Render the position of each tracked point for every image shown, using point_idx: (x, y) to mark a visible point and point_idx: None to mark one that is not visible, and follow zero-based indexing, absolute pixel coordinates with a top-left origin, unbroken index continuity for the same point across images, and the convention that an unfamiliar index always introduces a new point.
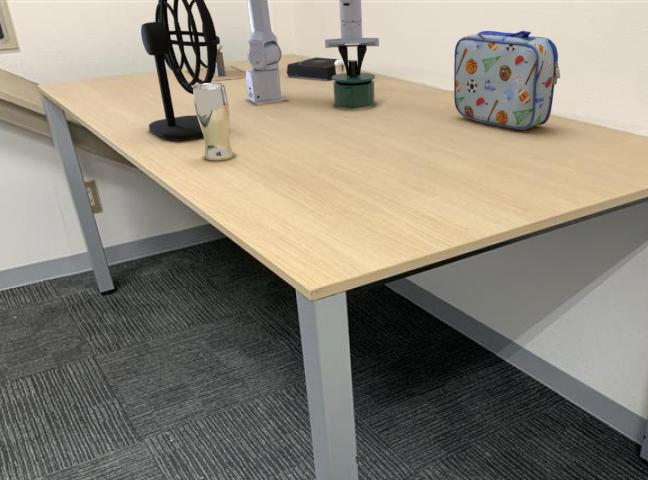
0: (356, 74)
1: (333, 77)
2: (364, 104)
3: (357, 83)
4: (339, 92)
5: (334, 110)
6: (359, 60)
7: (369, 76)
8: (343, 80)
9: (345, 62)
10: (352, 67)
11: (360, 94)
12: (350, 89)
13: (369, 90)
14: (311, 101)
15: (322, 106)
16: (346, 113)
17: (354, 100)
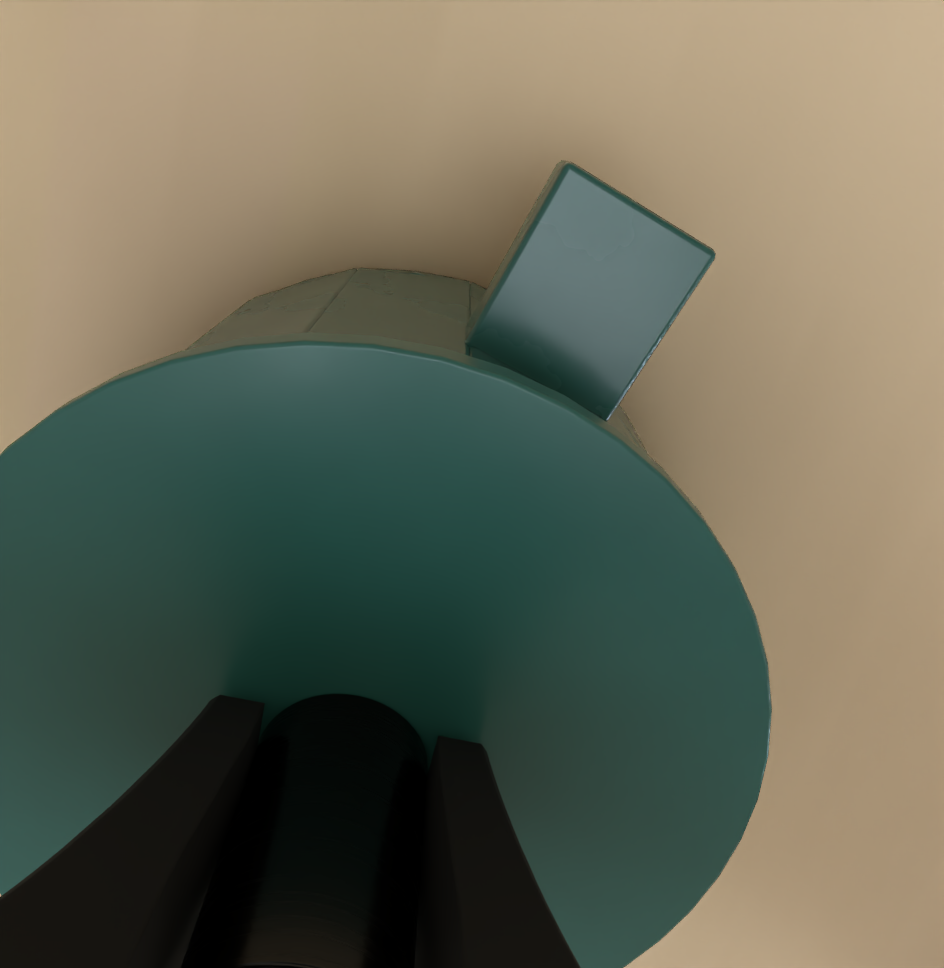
0: (286, 728)
1: (734, 793)
2: (305, 285)
3: None
4: None
5: (706, 373)
6: (99, 921)
7: (28, 627)
8: (658, 465)
9: (538, 954)
10: (349, 840)
11: (341, 302)
12: (538, 278)
13: None
14: (773, 863)
15: (758, 624)
16: (620, 126)
17: (453, 297)
